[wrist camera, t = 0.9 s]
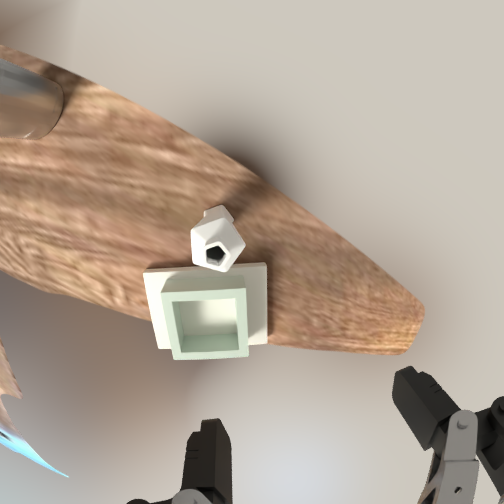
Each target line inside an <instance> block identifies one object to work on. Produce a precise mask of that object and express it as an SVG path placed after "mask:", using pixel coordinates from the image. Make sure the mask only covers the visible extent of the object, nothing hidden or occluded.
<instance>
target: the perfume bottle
mask: <svg viewBox="0 0 504 504" xmlns="http://www.w3.org/2000/svg"><path fill="white" fill-rule="evenodd" d="M233 221H234V219H233V217H232V216H231V215H230V213H229V212H228V211H227V209H226V208H225V207H224V206H223V205H219V206H216V207H213V208H211V209H208V210H205V211H204V218H203V219H202V220H201V221H200V222H199V223H198V224H197V225H196V226H195V227H194V228H193V229H192V230H191V244H192V260H193V263H194V264H196V265H199V266H203V267H207V268H210V269H214V270H218V271H221V272H227V271H228V270H229V268H230V267H231V265H232V264H233V263H234V261H235V260H236V259H237V257H238V256H239V254H240V253H241V252H242V250H243V249H244V248H245V243H244V241H243V240H242V238H241V236H240V235H239V233H238V232H237V230H236V228H235V227H234V225H233V224H232V223H233Z"/></svg>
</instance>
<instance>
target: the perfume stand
mask: <svg viewBox="0 0 504 504" xmlns="http://www.w3.org/2000/svg"><path fill="white" fill-rule="evenodd" d="M143 276H144V282H145V288H146V293H147V298H148V303H149V308H150V313H151V318H152V322H153V327H154V331H155V335H156V340H157V344H158V348H159V349H172V354H173V358H174V360H190V359H191V360H192V359H217V358H233V357H247V356H249V349H248V345H253V344H265V343H267V265H266V263H265V262H260V263H244V264H232V265H231V267H230V268H229V270H228V271H227V272H221V271H218V270H214V269H210V268H207V267H203V266H194V267H176V268H157V269H146V270H145V271H144V272H143Z"/></svg>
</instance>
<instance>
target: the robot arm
mask: <svg viewBox="0 0 504 504" xmlns="http://www.w3.org/2000/svg"><path fill="white" fill-rule="evenodd" d="M63 102H64V96H63V91H62V89H61V87H60V85H59V84H58V83H55V82H53V81H51V80H49V79H47V78H45V77H43V76H41V75H39V74H36V73H34V72H32V71H30V70H27V69H25V68H23V67H20V66H18V65H15V64H13V63H11V62H8V61H6V60H3V59H0V137H4V138H17V139H29V140H37V139H40V138H42V137H44V136H45V135H46V134H48V133H49V132H50V131H51V129H52V128H53V127H54V126H55V124H56V122H57V121H58V119H59V116H60V114H61V111H62V108H63ZM392 398H393V401H394V404H395V405H396V407H397V408H398V410H399V411H400V413H401V415H402V416H403V418H404V419H405V421H406V422H407V424H408V426H409V427H410V429H411V430H412V432H413V433H414V435H415V437H416V438H417V440H418V441H419V443H420V444H421V446H422V448H423V449H424V451H426V450H427V449H429V448H431V447H432V448H433V449H434V453H433V457H432V461H431V466H430V470H429V473H428V477H427V481H426V484H425V487H424V490H423V492H422V493H421V496H420V498H419V501H418V503H417V504H472V503H473V499H474V494H475V489H476V483H477V477H478V471H479V461H478V460H476V459H475V455H477V456H478V458H479V459H480V461H481V463H482V464H483V466H484V468H485V470H486V471H487V473H488V475H489V476H490V478H491V480H492V482H493V484H494V485H495V487H496V489H497V491H498V492H499V495H500V496H501V498H500V500H499V502H498V504H504V396H502V397H499V398H497V399H496V400H495V401H494V402H493V404H492V405H491V407H490V408H487V409H484V410H482V411H479V412H475V413H473V412H472V411H469V410H461V409H460V408H459V407H458V406H457V405H456V404H455V402H454V401H453V400H452V399H451V398H450V397H449V395H448V394H447V393H446V392H445V391H444V390H442V388H441V386H440V385H439V384H437V382H436V381H435V379H434V378H433V377H432V376H431V375H429V374H427V373H424V372H423V371H422V372H420V373H417V371H416V370H415V369H414V368H413V367H412V366H408V367H406V368H404V369H401V370H399V371H397V372H396V373H395V377H394V385H393V391H392ZM231 461H232V456H231V442H230V438H229V436H228V434H227V432H226V430H225V428H224V426H223V424H222V422H221V420H220V419H218V418H217V419H209V420H202V423H201V430H200V431H199V432H193V433H192V434H191V436H190V437H189V439H188V441H187V447H186V455H185V462H184V470H183V478H182V486H181V489H180V491H179V492H178V493H177V494H176V495H175V496H174V497H173V498H171V499H168V500H165V501H160V502H154V503H149V502H147V501H145V500H143V499H134V500H131V501H129V502H128V503H127V504H232V462H231Z"/></svg>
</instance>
